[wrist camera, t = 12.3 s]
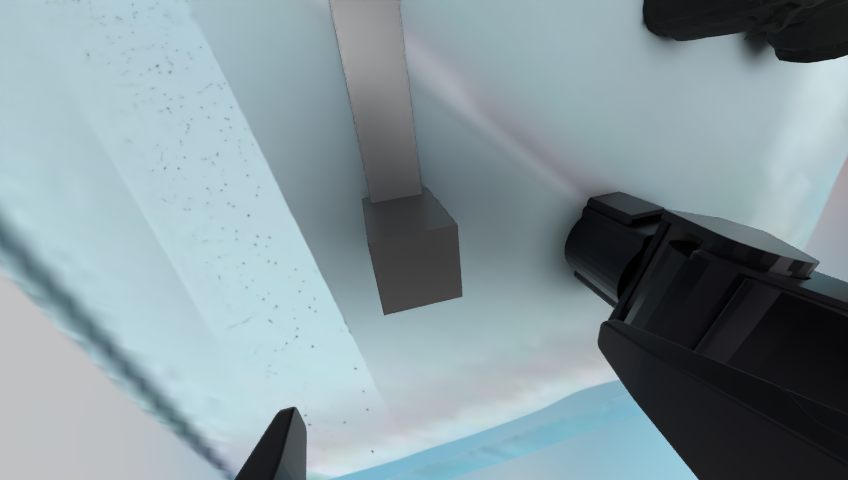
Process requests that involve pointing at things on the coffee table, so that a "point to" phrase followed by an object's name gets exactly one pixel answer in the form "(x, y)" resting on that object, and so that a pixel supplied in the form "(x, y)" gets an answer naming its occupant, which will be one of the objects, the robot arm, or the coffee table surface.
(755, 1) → the film camera
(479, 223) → the coffee table surface
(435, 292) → the grey angled bracket
